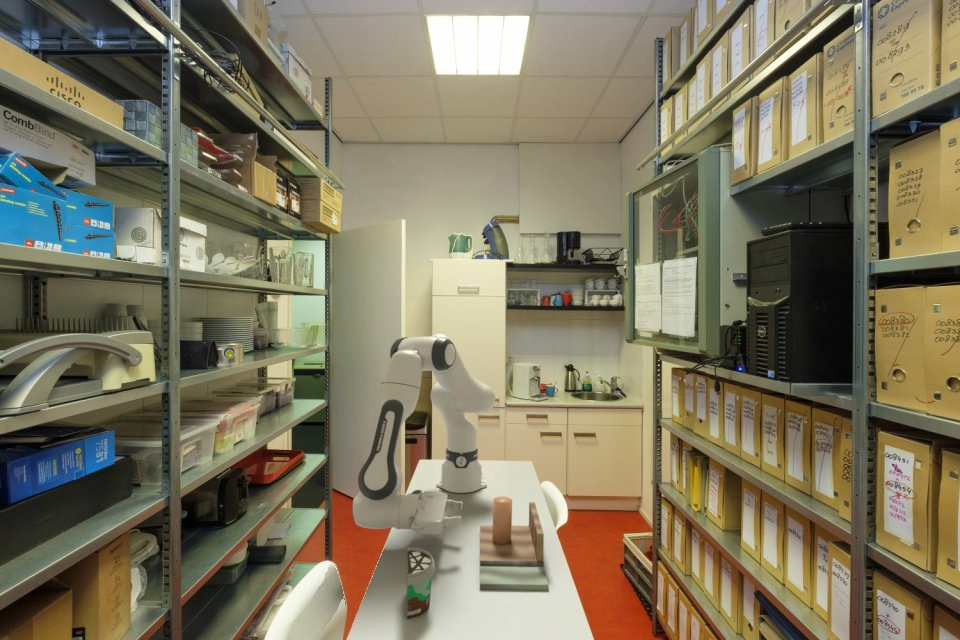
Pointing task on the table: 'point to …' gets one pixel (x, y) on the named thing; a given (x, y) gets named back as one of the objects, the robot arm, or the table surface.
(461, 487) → the robot arm
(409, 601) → the food container
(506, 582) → the brown wooden l-shaped board
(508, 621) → the table surface
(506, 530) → the peach cylinder
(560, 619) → the table surface
